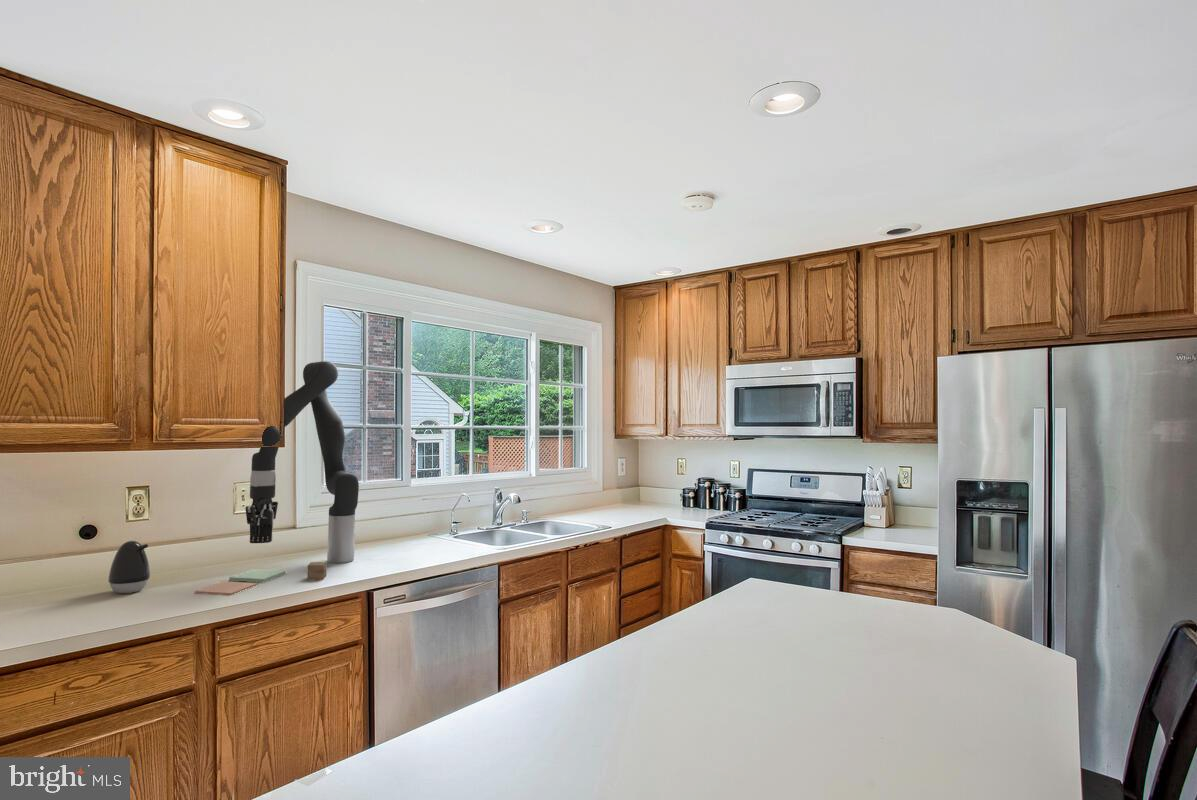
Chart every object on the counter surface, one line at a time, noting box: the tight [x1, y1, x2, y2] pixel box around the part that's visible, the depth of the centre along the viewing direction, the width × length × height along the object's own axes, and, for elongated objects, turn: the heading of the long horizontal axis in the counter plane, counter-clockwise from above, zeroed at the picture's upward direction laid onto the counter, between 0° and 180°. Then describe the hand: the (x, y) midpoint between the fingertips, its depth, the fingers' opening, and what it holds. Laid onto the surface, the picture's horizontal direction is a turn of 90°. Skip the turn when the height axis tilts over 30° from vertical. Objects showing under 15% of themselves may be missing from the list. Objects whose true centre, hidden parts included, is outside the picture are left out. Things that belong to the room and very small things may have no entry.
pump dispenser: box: [107, 540, 151, 594], centre depth 194 cm, size 10×10×15 cm
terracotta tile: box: [194, 580, 258, 596], centre depth 198 cm, size 12×12×1 cm
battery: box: [248, 509, 274, 544], centre depth 213 cm, size 7×4×11 cm, turn 109°
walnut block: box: [306, 561, 328, 581], centre depth 214 cm, size 5×5×5 cm
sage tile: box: [228, 568, 287, 583], centre depth 213 cm, size 12×12×1 cm
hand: (261, 534), depth 213 cm, fingers closed on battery, 5 cm apart
